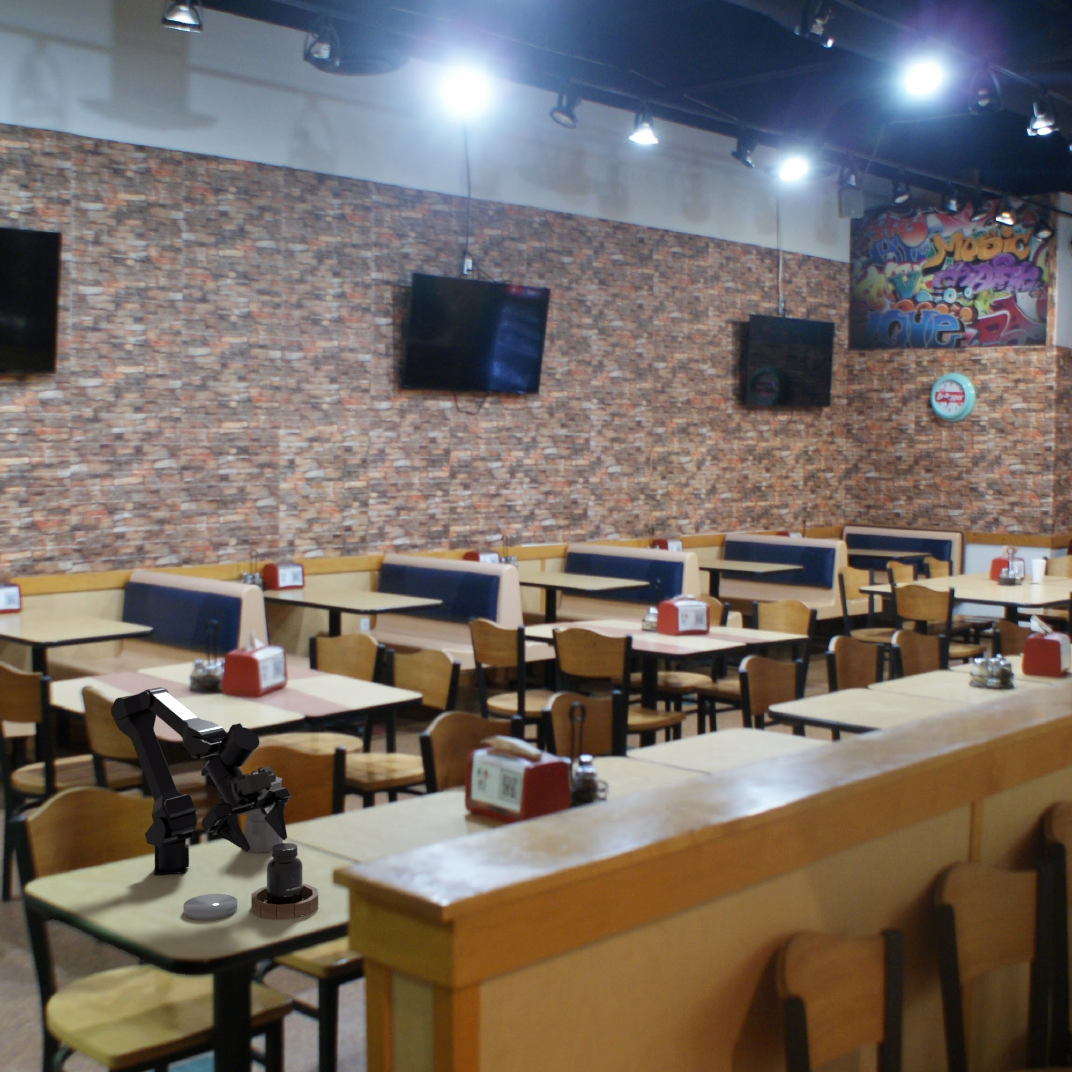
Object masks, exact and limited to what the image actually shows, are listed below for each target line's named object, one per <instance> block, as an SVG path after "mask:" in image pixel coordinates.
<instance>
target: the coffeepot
mask: <svg viewBox="0 0 1072 1072" xmlns="http://www.w3.org/2000/svg"><path fill="white" fill-rule="evenodd" d="M263 768H264V767H262V766H260V767H258V768H257V770H252V771H251V773H250V775H254V774H258V773H259V770H262V769H263ZM271 784H272V787H270V788H269V787H268V788H265V789H263V790H262V792H263V793H262V795H261V796H259V797H258V800H261V799H263V798H264V797H265V796H266V794H267V793H268V792H269V790H273V789H277V788H280V787H283V786H282V784H283V778H282V777H278V776H276V781H275V782H273V783H271ZM265 816H266V815H264V814H262V812H261V811H260V810H258V811H254V812H251V813H247V814H246V819H245V822H244V829H243V834H244V836H245V838H246V839H247V841H248V843H249V846H250V848H251V849H250V851H249V852H248V853H251V852H253V854H264V852H266V853H272V852H271V851H272V847H273V846H274V845H276V844H281V843H284V842H283V841H284V840H283V839H281V838H280V837H279V836H278V834H277V833H276V832H275V831H274V830H273V828H272V827H271V826H270V825H269V824H268V823H267V821H266V820H265V819H264V818H265ZM254 852H255V853H254ZM256 852H257V853H256Z"/></svg>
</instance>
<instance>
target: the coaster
mask: <svg viewBox="0 0 1072 1072" xmlns="http://www.w3.org/2000/svg"><path fill="white" fill-rule="evenodd" d="M182 907H183V916H184V915H185V917H186V918H187V919H190V920H195V921H215V920H220V919H225V918H227V917H230V916H233V914H235V913H236V912H237V911H238V899H237V897H235V896H233V895H230V894H225V893H207V894H202V895H198V896H194V897H191V898H190V899H188V900H186V901H185V902H184V903H183V905H182Z"/></svg>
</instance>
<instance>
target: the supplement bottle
mask: <svg viewBox="0 0 1072 1072" xmlns="http://www.w3.org/2000/svg"><path fill="white" fill-rule="evenodd" d="M271 857H272V858H271V859H270V860H269V861H268V862H267V865H266V886H267V901H266V903H269V904H277V905H280V904H293V903H297V902H300V901H303V898H302V886H303V884H304V883H303V881H304V880H303V879H304V878H303V873H304V871H303V868H304V867H303V862H302V860H301V859H300V858H298V845H297V844H296V843H295V844H294V843H292V842H283V843H281V844H276V845H274V846H273V847H272V852H271Z"/></svg>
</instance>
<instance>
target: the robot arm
mask: <svg viewBox="0 0 1072 1072" xmlns="http://www.w3.org/2000/svg"><path fill="white" fill-rule="evenodd" d="M110 712H111V713H110V714H111V716H112V719H113V721H114V722H115V724H116V727H117V728H118V730H119V731H120V732H122V733H123V734H124V735H126V737H128V739H130V740H131V742H132V746H133V747H134V752H135V753H136V756H137V759H138V761H139V764H140V766H141V769H142V771H143V774H144V777H145V780H146V782H147V785H148V787H149V790H150V793H151V797H152V798H153V805H152V810H151V818H152V824H151V825H150V826H149V828H148V829H147V831H146V832H145V833H144V836H145V841H146V843H147V844H148V845H151V846H153V847H154V852H153V853H154V870H153V875H172V874H182V873H184V874H185V873H187V868H189V867H190V845H189V843H188V844H187V840H189V839H193V838H194V837H195V832H196V829H197V824H198V815H197V811H198V810H197V808H196V807H195V805H194V802H193V799H192V797H191V795H190V793H189V794H182V793H181V792H180V791H178V789H177V786H176V784H175V780H174V779H173V776H172V774H171V772H170V771H171V770H170V769H169V766H168V762H167V760H166V758H165V756H164V753H163V751H162V748H161V744H160V743H159V741H158V738H157V735H156V732H155V729H154V728H155V724H156V719H157V717H158V718H159V719H160V720H161V721H162V722H164V724H165V725H167V726H168V727H170V728H171V729H172V730H173V731H174V732H175V733H177V734H178V735H179V736H180V737H181V738H182V739H181V740H182V746H183V748H185V749H186V751H187V752H188V754H190V755H191V757H192V758H193V759H204V758H207V757H210V756H211V757H210V759H209V760H208V761H203V763H202V769H201V772H200V775H201V776H202V777H205V776H209V777H210V778H211V780H212V781H213V783H214V785H215V787H216V788H217V790H218V792H217V794H216V797H217V799H218V800H221V799H223V801H224V802H223V803H219V804H215V805H213V806H211V807H210V808H209V809H208V811H207V812H206V814H205V815H204V816H203V818H202V819H201V828H202V829H203V831H204V833H206V834H209V833H211V834H212V835H213V836H218V837H221V838H223V839H224V840H226V841H229V843H231V844H233V845H234V846H236V847H238V848H240V849H241V850H243V851H244V852H246V853H250V852H249V851H250V849H251V848H250V846H249V843H248V841H247V839H246V838H245V836H244V831H243V830H242V829H241V827H240V825H239V821H238V817H241V816H243V815H247V813H251V812H254V811H258V810H260V811H261V812H262V814H264V815H266V816H265V818H264V819H265V820H266V821H267V823H268V824H269V825H270V826H271V827H272V828H273V830H274V831H275V832H276V833H277V834H278V836H279V837H280V838H281V839H282V841H286V839H287V838H288V834H287V827H286V821H285V813H284V812H285V811H284V809H285V807H286V805H287V804H288V803H289V800H290V799H291V798H292V794H291V792H289V790H288V788H287V787H283V786H281V787H280V788H277V789H273V790H269V792H268V793H267V794H266V796H265V797H264V798H263V799H261V800H258V797H259V796H261V795H262V793H263V792H262V790H263V789H265V788H268V787H269V788H270V787H272V784H271V783H273V782H275V781H276V777H277V776H276V773H275V771H274V770H273V769H272V767H271V766H268V767H263V769H262V770H259V773H258V774H254V775H251V773H246V774H244V772H243V770H242V769H241V767H242V766H244V765H246V763H247V762H248V760H249V759H250V758H251V757H252V756H253V754H254V753H255V751H256V750H257V749H258V747H259V746H260V738H259V736H258V734H257V733H256V732H254V731H253V730H252V729H250V728H247V727H244V726H243V725H242V724H241V723H240V722H239V723H234V724H232V725H231V726H230V727H229V729H228V731H226V730H225V729H224V727H222V726H221V725H218V724H217V723H215V722H213V721H212V720H211V721H210V720H206V719H201V718H200V717H197V716H196V715H195V714H194V713H193V712H192V711H190V710H189V709H188V708H186V706H184V705H183V704H182V703H181V702H180V701H179V700H178V699H175V698H174V696H172V695H171V694H170V693H169V691H168V689H167V688H165V687H153V688H149V689H145V690H144V691H141V692H139V693H136V694H132V695H131V694H130V695H126V696H119V697H117V698H116V699H114V701H113V704H112V705H111V708H110Z"/></svg>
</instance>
